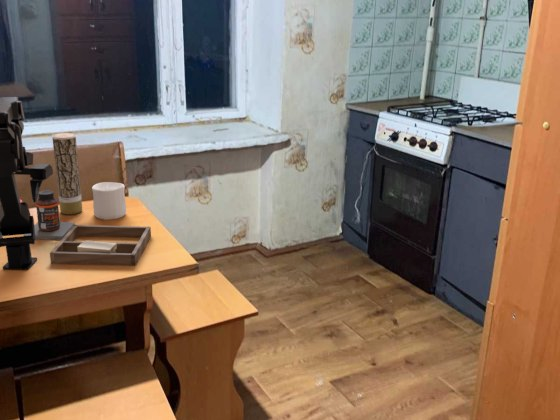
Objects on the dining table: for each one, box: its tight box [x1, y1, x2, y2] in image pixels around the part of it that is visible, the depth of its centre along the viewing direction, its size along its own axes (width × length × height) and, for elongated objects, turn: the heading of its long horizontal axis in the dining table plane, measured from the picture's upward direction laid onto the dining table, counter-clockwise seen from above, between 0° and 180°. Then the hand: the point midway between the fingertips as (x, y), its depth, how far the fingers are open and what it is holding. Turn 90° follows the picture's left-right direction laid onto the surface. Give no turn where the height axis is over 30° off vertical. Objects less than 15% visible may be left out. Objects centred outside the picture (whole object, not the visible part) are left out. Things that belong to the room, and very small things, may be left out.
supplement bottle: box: [35, 189, 61, 232], centre depth 172 cm, size 6×6×11 cm
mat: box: [23, 221, 76, 241], centre depth 174 cm, size 11×11×1 cm
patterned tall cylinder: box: [52, 132, 83, 215], centre depth 187 cm, size 7×7×25 cm
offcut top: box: [77, 240, 117, 253], centre depth 158 cm, size 4×9×2 cm, turn 82°
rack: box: [49, 224, 152, 267], centre depth 164 cm, size 20×22×3 cm
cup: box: [91, 181, 127, 220], centre depth 188 cm, size 10×10×10 cm
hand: (18, 201), depth 160 cm, fingers open, 9 cm apart
